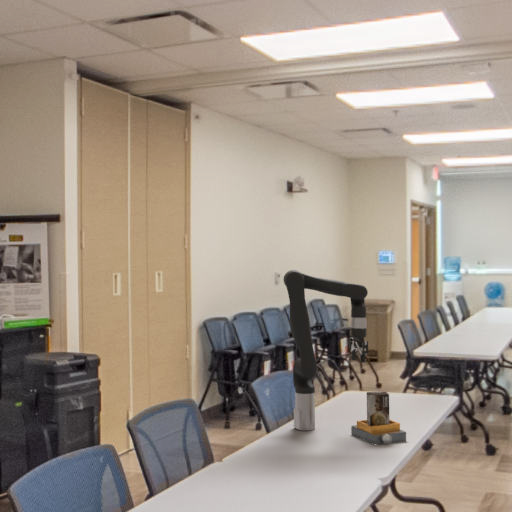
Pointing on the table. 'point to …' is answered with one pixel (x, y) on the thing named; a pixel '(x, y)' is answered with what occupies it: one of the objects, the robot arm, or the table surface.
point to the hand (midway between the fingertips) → (358, 361)
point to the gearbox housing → (379, 432)
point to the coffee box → (377, 408)
